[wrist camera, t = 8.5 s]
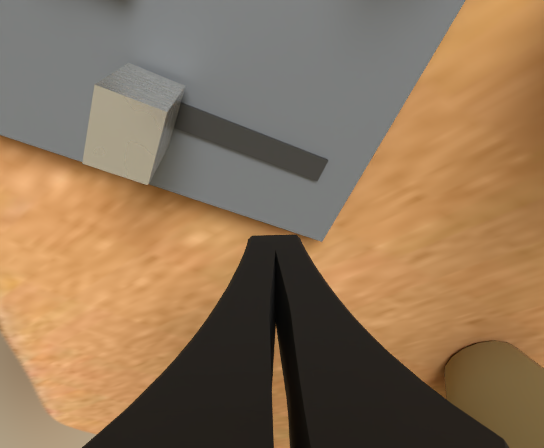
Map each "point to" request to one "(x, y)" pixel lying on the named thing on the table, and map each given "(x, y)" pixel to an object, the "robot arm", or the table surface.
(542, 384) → the squeeze bottle
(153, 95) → the metal slider
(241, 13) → the control board
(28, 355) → the table surface
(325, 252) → the table surface
